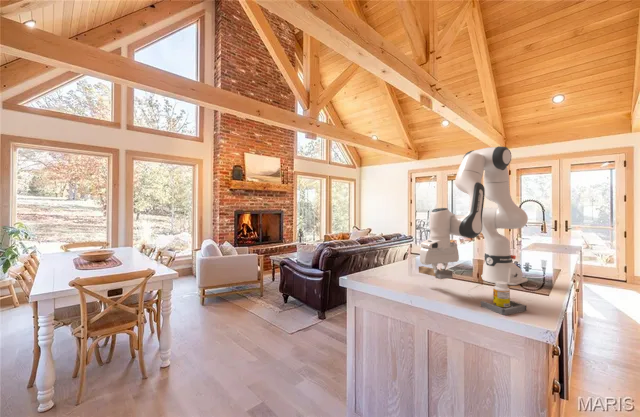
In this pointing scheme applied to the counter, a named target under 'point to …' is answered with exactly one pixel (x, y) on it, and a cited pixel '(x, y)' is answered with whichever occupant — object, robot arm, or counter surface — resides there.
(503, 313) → the frame
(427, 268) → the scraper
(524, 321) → the counter surface
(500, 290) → the supplement bottle
